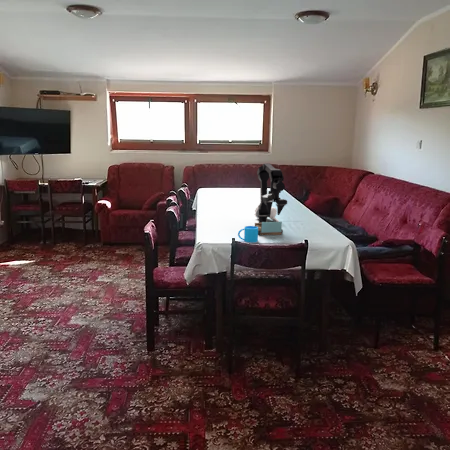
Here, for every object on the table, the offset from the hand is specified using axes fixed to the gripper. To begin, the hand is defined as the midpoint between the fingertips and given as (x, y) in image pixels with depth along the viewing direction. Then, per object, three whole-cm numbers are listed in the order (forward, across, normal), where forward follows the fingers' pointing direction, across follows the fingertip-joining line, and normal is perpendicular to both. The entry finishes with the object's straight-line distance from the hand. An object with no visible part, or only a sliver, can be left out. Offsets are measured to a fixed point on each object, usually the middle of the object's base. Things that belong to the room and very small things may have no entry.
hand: (273, 213), depth 265 cm
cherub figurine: (+12, -32, +21) cm, 41 cm away
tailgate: (+11, +3, -4) cm, 12 cm away
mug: (+13, +8, -25) cm, 30 cm away
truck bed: (+13, -3, -2) cm, 13 cm away
